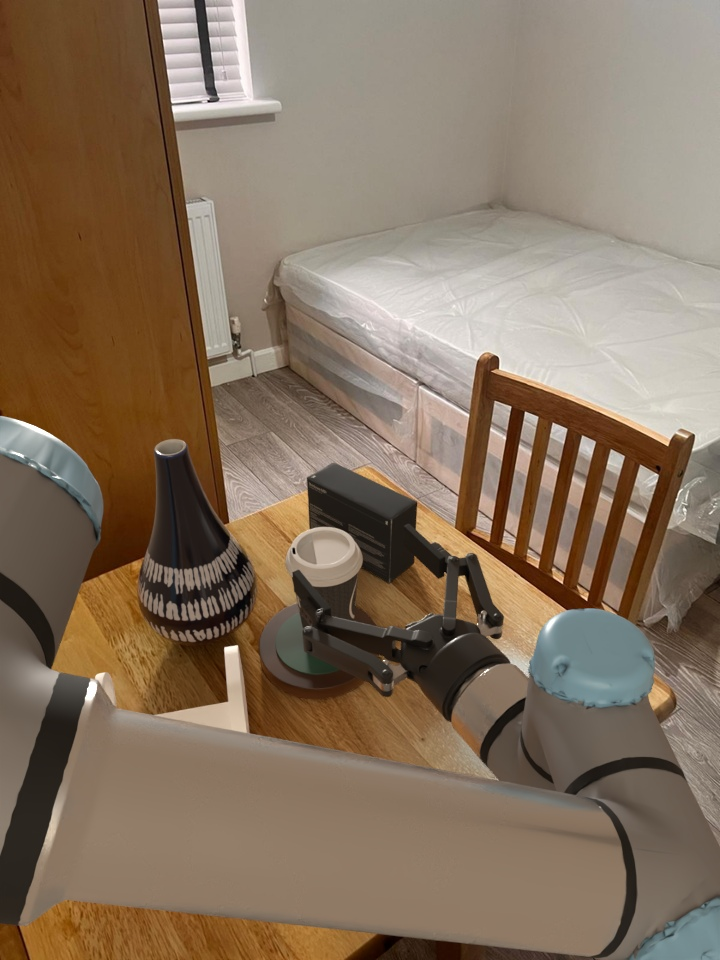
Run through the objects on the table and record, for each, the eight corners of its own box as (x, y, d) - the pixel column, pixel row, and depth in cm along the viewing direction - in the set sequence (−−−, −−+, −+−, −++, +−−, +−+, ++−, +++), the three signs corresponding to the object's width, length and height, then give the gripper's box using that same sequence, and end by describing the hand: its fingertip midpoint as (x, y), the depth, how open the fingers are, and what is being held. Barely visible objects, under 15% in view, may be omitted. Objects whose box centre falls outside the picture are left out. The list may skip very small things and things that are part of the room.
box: (417, 562, 112) (419, 500, 106) (389, 585, 108) (389, 522, 101) (336, 519, 122) (333, 459, 115) (308, 538, 118) (303, 478, 111)
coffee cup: (304, 603, 102) (296, 518, 94) (371, 612, 100) (369, 527, 92) (283, 654, 94) (273, 567, 86) (355, 666, 93) (352, 578, 84)
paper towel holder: (395, 682, 93) (396, 602, 85) (271, 712, 90) (260, 632, 82) (361, 598, 106) (359, 521, 98) (251, 621, 102) (240, 544, 94)
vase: (285, 618, 103) (266, 440, 86) (197, 688, 93) (156, 503, 77) (212, 570, 112) (181, 401, 95) (124, 630, 102) (73, 452, 85)
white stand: (126, 861, 75) (85, 756, 65) (132, 754, 86) (97, 648, 75) (263, 832, 78) (244, 726, 67) (252, 731, 88) (235, 626, 78)
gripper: (358, 790, 59) (249, 628, 74) (580, 662, 70) (445, 542, 85) (356, 733, 55) (241, 573, 70) (593, 605, 66) (449, 490, 80)
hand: (353, 556), depth 77 cm, fingers open, 13 cm apart
